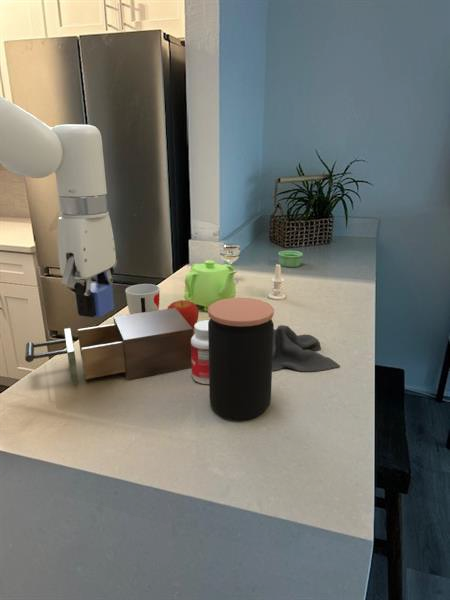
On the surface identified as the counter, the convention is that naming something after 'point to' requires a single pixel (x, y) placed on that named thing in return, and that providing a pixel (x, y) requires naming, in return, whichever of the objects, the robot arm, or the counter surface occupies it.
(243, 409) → the coffee jar
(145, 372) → the cabinet
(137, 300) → the cup
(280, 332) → the cloth
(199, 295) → the teapot
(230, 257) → the wineglass
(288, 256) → the ramekin
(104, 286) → the matte blue cube
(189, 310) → the apple
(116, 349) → the brown drawer with handle
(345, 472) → the counter surface
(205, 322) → the pill bottle
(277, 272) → the cream tower figurine
